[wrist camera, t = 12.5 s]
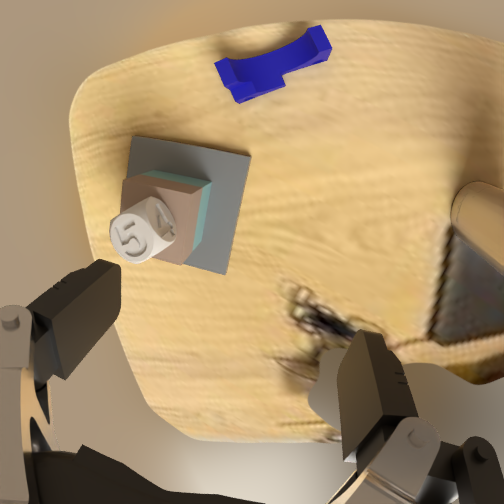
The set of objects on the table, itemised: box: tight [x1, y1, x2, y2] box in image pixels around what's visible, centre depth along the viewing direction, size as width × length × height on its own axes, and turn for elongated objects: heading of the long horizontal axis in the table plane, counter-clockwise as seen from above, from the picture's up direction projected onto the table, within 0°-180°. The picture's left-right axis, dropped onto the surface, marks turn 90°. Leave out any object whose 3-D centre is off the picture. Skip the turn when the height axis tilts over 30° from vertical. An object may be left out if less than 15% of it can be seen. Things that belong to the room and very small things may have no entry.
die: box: [109, 196, 177, 264], centre depth 30 cm, size 5×5×5 cm
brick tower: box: [120, 136, 251, 275], centre depth 36 cm, size 16×16×9 cm
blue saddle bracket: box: [214, 25, 332, 104], centre depth 30 cm, size 12×4×6 cm, turn 112°
